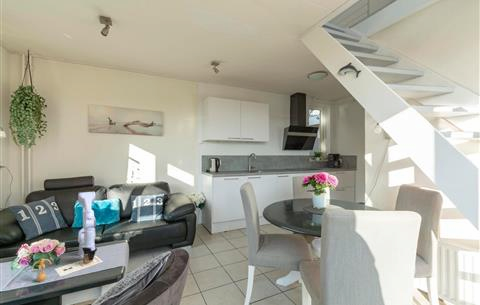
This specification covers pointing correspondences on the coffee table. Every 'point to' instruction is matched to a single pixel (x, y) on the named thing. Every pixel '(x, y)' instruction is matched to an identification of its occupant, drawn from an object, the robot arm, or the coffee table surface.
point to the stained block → (86, 259)
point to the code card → (76, 266)
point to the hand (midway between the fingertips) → (89, 258)
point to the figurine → (41, 275)
